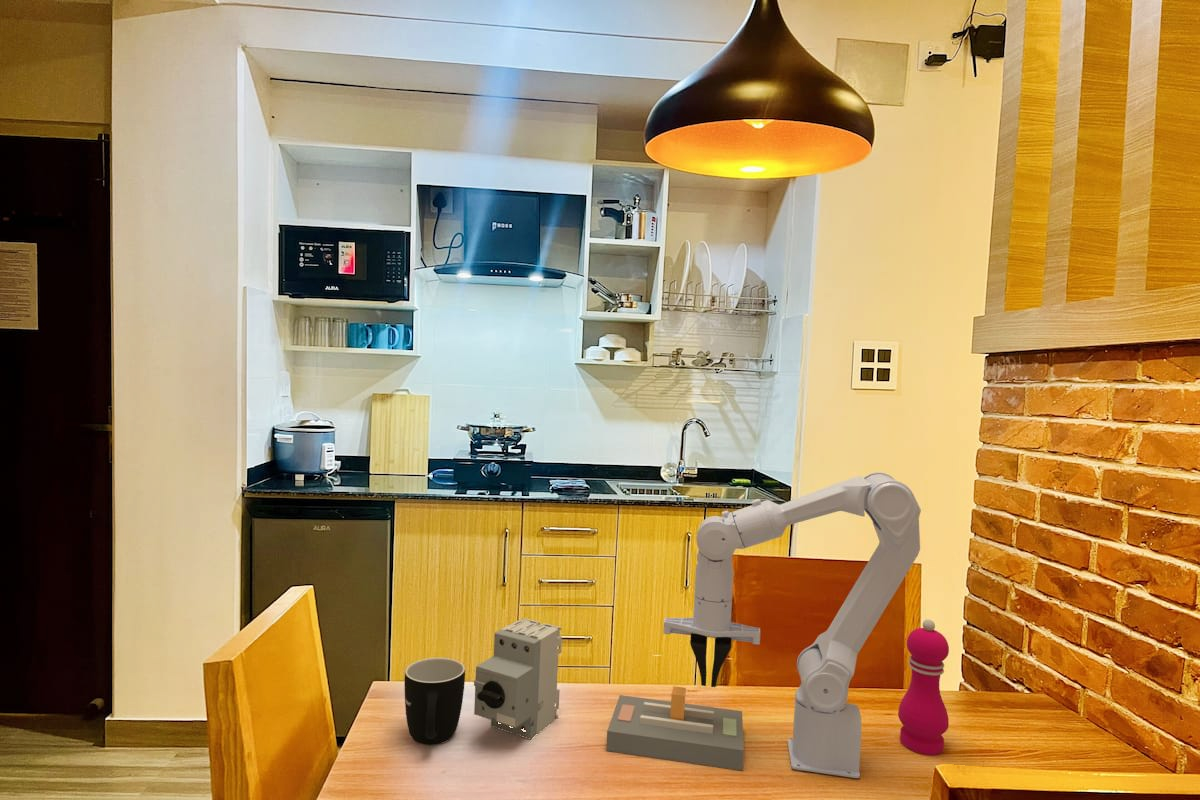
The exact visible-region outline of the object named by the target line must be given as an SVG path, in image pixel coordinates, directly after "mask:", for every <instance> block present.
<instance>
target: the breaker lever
mask: <svg viewBox="0 0 1200 800" xmlns="http://www.w3.org/2000/svg"><path fill="white" fill-rule="evenodd" d="M686 689H687V688H686V687H683V686H675V685H673V686H672V689H671V698H670V699H671V700H670V702H671V715H670V719H674V720H681V721H684V714H685V704H686V693H687V692H686V691H687V690H686Z"/></svg>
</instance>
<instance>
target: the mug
mask: <svg viewBox="0 0 1200 800" xmlns="http://www.w3.org/2000/svg"><path fill="white" fill-rule="evenodd" d="M404 671H405V672H404V705H405V717H406V724H407V728H408V732H409V735H410V738H411V739H412V740H413V741H414V742H416V743H418V744H419V745H422V746H435V745H440V744H443V743H445V742H448V741H449V740H451V739H452V738H453V736H454V735H455V733H456V731H457V729H458V726H459V725H458V724H459V722H460V717H461V711H462V707H463V699H464V692H465V681H466V680H465V679H466V667H465V665H464V664H463V663H462V662H461V661H458V659H457V660H456V659H453V658H448V657H429V658H424V659H420V660H417V661H415V662H413V663H410V664H409V665H408V666H407V667H406V669H405V670H404ZM447 740H448V741H447Z"/></svg>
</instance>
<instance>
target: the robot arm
mask: <svg viewBox="0 0 1200 800" xmlns="http://www.w3.org/2000/svg"><path fill="white" fill-rule="evenodd" d="M921 511H922V509H921V507H920V505H919V503H918V500H917V499H916V496H915V495H914V493H913V491H912V489H911V488H910V487H909V486H908V485H906V484H905V483H903V482H901V481H898V480H896V479H895V478H894V477H893V476H891V475H889V474H887V473H885V472H871V473H869V474H866V476H864V477H863V476H856V477H852V478H848V479H845V480H841V481H839V482H836V483H833V484H831V485H829V486H826V487H824V488H821V489H817V490H816V491H813V492H810V493H808V494H805V495H802V496H800V497H797V498H795V499H791V500H789V501H786V502H784V503H781V504H778V503H776V502H774V501H772V500H769V499H767V500H763V501H761V499H760V498H756V499H753V500H751V505H749V506H746V507H743V508H739V509H736V510H734V511H729V509H728V510H724V511H722V512H721V516H718V515H712V516H708V517H707V518H705V519H703V521H702V523H700V524H699V526H698V530H697V531H696V546H697V549H698V551H697V553H696V563H695V574H694V575H695V576H694V577H695V578H694V594H693V595H694V596H693V598H694V599H693V613H692V614H693V617H664V620H663V631H662V632H663V634H664V635H671V634H677V635H684V636H690V640H689V643H690V647H691V650H692V652H693V655H694V657H695V660H696V663H697V666H698V671H699V676H700V685H701V686H703V687H706V686H707V671H708V670H707V646H708V638H711V639H714V647H713V648H714V649H713V650H714V651H713V661H712V662H713V663H712V670H711V683H710V684H711V686H710V687H711V688H716V687H717V682H718V677H719V673H720V671H721V668H722V667H723V665H724V662H725V660H726V658H727V657H728V655H729V654H730V651H731V648H732V641H738V642H747V643H752V644H753V645H760V644H761V628H760V627H756V626H750V625H745V624H741V623H737V622H733V621H732V606H733V603H732V602H733V586H734V567H733V565H732V564H733V554H734V553H735V551H736V550H737V549H739V550H744V549H747V548H752V547H754V546H757V545H760V544H762V543H766V542H769V541H771V540H775V539H778V538H781V537H783V535H784V533H785V531H786V529H787V527H788V526H790V525H794V524H798V523H802V522H805V521H808V520H811V519H815V518H818V517H822V516H826V515H830V514H834V513H837V512H843V513H844V512H845V513H849V514H852V515H856V516H859V517H865V515H866V514H867V516H868V517H869V518H870V520H871V521H872V524H873V527H874V530H875V533H876V535H877V538H878V542H879V543H878V545H877V547H876V548H875V550H874V552H873V553H872V555H871V557H870V558H869V560H868V562H867V563H866V565H865V567H864V569H862V572H861V573H860V575H859V577H858V579H857V580H856V581H855V582H854V585H853V587H852V588H851V590H849V592H848V595H847V597H846V598H845V600H844V602H843V603H842V605H841V607H840V608H839V610H838V612H837V613H836V615H835V617H834V618H833V620H832V622H831V623H830V625H829V627H828V628H827V630H825V631H824V632H821V634H819V635H817V638H816V639H815V641H814V642H813V643H812V644H810V645H809V646H807V647H805V648H804V649H803V650H802V651H801V652H800V653H799V655H798V657H797V660H796V669H797V672H798V674H799V677H800V681H801V683H800V685H799V687H798V688H797V690H796V691H795V693H794V712H793V713H794V714H793V728H792V729H793V730H792V738H787V741H786V743H787V749H788V754H789V760H790V766H791V768H792V769H793V770H797V771H802V772H803V771H805V772H811V773H817V774H818V773H819V774H823V775H825V774H826V775H832V776H840V777H847V778H852V779H860V778H861V773H860V762H861V750H862V749H861V748H862V747H861V746H862V715H861V712H860V707H859V706H858V704H855V703H851V702H847V699H848V697H849V686H850V682H851V680H852V678H853V677H854V675H855V671H856V670H855V669H856V666H857V658H858V654H859V652H860V651H861V650H862V647H863V646H864V644H865V643H866V641H867V639H868V638H869V636H870V634H871V633H872V631H873V629H874V628H875V626H876V624H877V623H878V621H879V620H880V619H881V616H882V615H883V613H884V612H885V610H886V608H887V606H888V605H889V604H890V602H891V600H892V599H893V597H894V595H895V594H896V592H897V590H898V589H899V588H900V586H901V583H902V582H903V580H904V578H905V577H906V575H907V574H908V572H909V571H910V569H911V567H912V566H913V564H914V562H915V561H916V559H917V558H918V556H919V554H920V551H921V539H920V538H921V537H920V516H921V513H922V512H921ZM865 513H866V514H865Z"/></svg>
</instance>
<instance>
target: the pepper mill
mask: <svg viewBox="0 0 1200 800" xmlns="http://www.w3.org/2000/svg"><path fill="white" fill-rule="evenodd" d="M935 629H936V625H935V622H934V621H933V620H931V619H925V620H923V622H922V627H919V628H915V629H913V630H912V631H910V633H909V634H908V636H907V638H906V649H907V651H908V652H909V654H910V655H909V658H908V659H909V663H908V666H909V668H910V669H911V679H910V684H909V686H908V688H907V691H906V692H905V694H904V695H903V697H902V699H901V701H900V703H899V705H898V711H897V714H898V719H899V721H900V723H901V724H902V726H901V728H900V731H899V733H900V734H899V740H900V742H901V745H902V746H904V747H905V748H907V749H908V750H911V751H913V752H915V753H918V754H922V755H928V756H937V755H940V754H942V753H943V752H944V748H945V747H944V746H945V739H944V736H943V735H944V734H945V733H946V732H947V731H948V729H949V725H950V724H949V716H948V711H947V708H946V705H945V703H944V699H943V697H942V696H941V690H940V681H941V680H940V679H941V675H943V674H944V672H945V671H944V670H945V669H944V667H945V663H944V662H943V661H944V660H946V659H947V657H948V656H949V652H950V648H949V647H950V646H949V643H948V641H947V639H946V637H945V636H944V634H942V633H941V632H940V631H938V630H935Z"/></svg>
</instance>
